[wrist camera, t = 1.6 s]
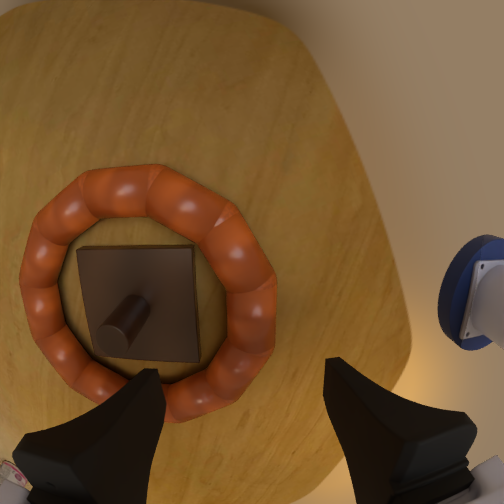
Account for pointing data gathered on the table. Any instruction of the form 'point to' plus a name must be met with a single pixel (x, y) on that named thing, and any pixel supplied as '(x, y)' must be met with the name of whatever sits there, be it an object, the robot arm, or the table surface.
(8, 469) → the pill bottle
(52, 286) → the ring
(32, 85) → the table surface
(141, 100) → the table surface
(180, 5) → the table surface
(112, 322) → the square peg base
